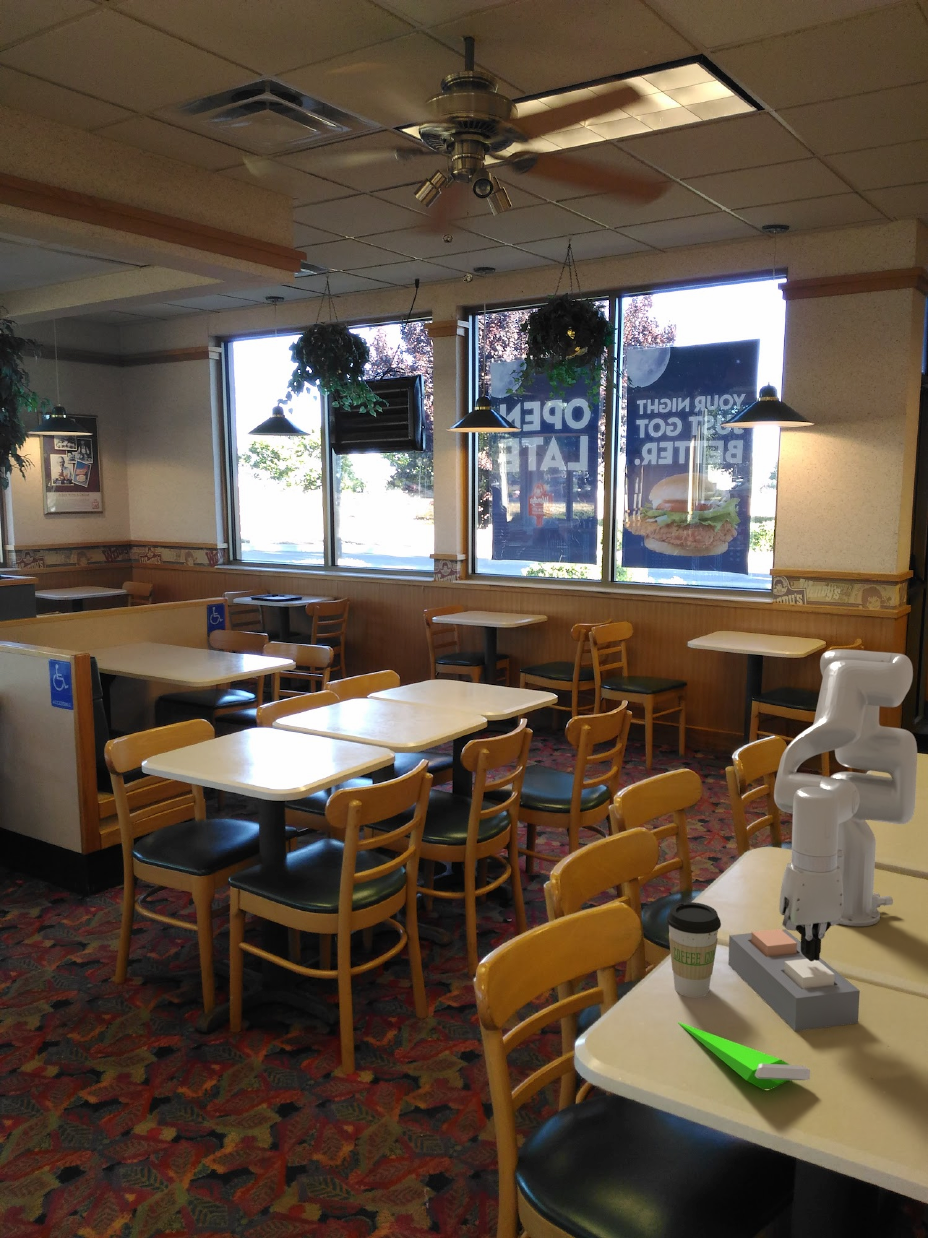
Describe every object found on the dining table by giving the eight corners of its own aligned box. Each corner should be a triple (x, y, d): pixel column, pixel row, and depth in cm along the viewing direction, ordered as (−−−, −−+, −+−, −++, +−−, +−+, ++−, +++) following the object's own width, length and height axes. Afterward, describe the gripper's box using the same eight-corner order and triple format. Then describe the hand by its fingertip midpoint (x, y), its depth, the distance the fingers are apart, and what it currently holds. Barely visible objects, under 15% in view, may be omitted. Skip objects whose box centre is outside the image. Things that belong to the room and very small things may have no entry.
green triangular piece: (647, 1041, 164) (755, 1098, 142) (652, 1009, 165) (760, 1061, 143) (696, 1044, 169) (808, 1100, 147) (701, 1013, 170) (813, 1064, 148)
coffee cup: (688, 1008, 171) (690, 928, 169) (653, 983, 180) (655, 907, 178) (730, 994, 175) (732, 916, 174) (694, 971, 184) (696, 896, 182)
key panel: (784, 958, 189) (785, 929, 188) (858, 1023, 166) (859, 990, 165) (728, 964, 187) (729, 935, 186) (795, 1031, 163) (796, 998, 163)
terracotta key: (778, 958, 185) (780, 929, 185) (795, 973, 179) (796, 943, 179) (750, 961, 184) (751, 932, 183) (766, 976, 178) (767, 946, 177)
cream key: (813, 989, 174) (815, 958, 173) (832, 1006, 168) (834, 974, 167) (783, 993, 172) (784, 961, 172) (801, 1010, 167) (803, 977, 166)
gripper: (840, 846, 172) (835, 942, 175) (763, 855, 169) (760, 952, 172) (865, 863, 165) (860, 962, 168) (786, 871, 162) (783, 973, 165)
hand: (810, 957), depth 170 cm, fingers closed
